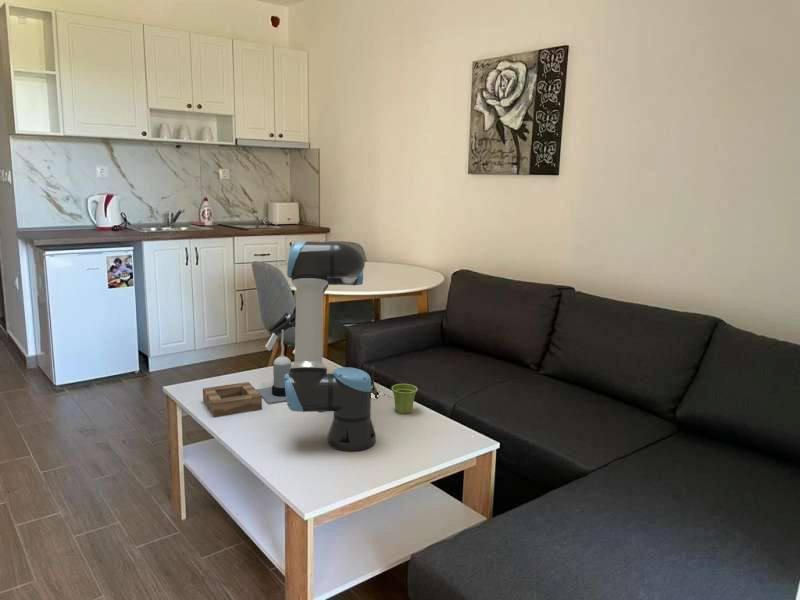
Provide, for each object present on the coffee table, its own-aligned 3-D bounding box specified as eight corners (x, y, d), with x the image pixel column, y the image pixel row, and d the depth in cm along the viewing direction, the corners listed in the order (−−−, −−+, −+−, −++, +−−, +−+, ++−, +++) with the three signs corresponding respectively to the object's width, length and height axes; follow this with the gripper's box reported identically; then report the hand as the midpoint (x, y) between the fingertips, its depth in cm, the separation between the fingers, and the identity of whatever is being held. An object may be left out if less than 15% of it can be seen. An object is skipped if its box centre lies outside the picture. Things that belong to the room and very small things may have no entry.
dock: (261, 409, 210) (261, 396, 209) (213, 417, 202) (213, 403, 201) (248, 394, 225) (248, 381, 224) (203, 401, 216) (202, 388, 215)
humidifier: (296, 394, 224) (295, 331, 219) (274, 397, 220) (274, 333, 215) (290, 388, 231) (289, 326, 226) (269, 390, 227) (268, 328, 222)
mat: (309, 397, 223) (309, 396, 223) (268, 404, 215) (268, 402, 215) (295, 385, 236) (295, 383, 236) (255, 390, 228) (255, 389, 228)
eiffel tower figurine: (395, 400, 224) (396, 367, 222) (374, 406, 218) (375, 371, 215) (371, 389, 235) (372, 357, 233) (351, 394, 229) (351, 361, 226)
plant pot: (417, 406, 217) (418, 384, 215) (415, 416, 208) (416, 393, 206) (392, 405, 218) (393, 383, 216) (389, 414, 209) (390, 391, 207)
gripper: (335, 316, 229) (311, 362, 219) (286, 308, 241) (261, 351, 231) (327, 305, 223) (302, 351, 213) (277, 297, 236) (251, 341, 226)
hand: (280, 351), depth 222 cm, fingers open, 13 cm apart
